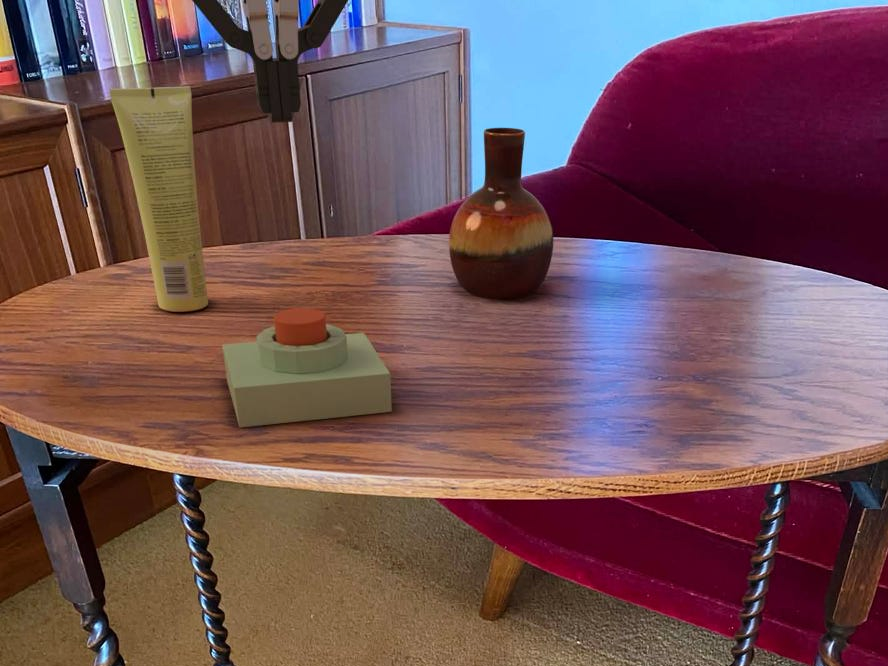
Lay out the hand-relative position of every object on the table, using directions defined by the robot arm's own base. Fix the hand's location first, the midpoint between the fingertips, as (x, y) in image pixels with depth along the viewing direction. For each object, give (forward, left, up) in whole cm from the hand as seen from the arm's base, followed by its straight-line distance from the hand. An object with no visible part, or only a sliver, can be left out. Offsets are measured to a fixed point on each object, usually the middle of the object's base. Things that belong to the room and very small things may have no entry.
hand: (281, 120), depth 67 cm
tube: (-8, +27, -20) cm, 35 cm away
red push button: (0, 0, -16) cm, 16 cm away
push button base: (0, 0, -20) cm, 20 cm away
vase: (+25, +25, -20) cm, 41 cm away
